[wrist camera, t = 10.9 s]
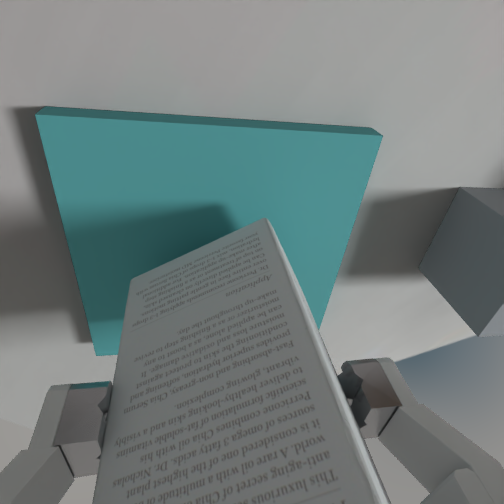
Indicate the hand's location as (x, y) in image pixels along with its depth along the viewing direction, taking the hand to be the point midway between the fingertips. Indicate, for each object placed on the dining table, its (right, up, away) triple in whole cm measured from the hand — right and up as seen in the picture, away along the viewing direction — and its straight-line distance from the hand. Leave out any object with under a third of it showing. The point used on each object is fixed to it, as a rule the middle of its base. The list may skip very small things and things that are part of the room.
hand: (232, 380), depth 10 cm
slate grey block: (+13, +5, +8) cm, 16 cm away
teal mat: (-1, +4, +6) cm, 7 cm away
